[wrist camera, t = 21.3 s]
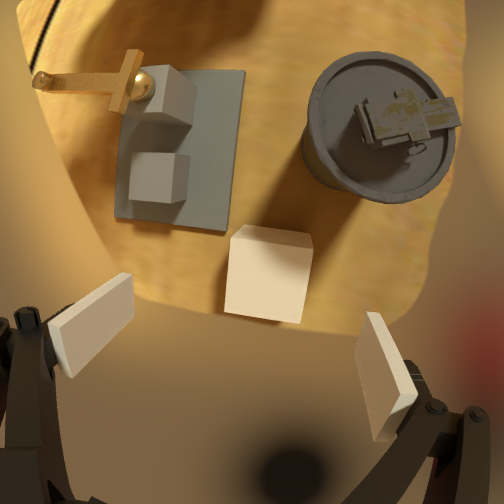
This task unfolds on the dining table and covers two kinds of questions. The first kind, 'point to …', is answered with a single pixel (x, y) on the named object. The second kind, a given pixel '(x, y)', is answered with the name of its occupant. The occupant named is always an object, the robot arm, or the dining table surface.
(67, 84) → the latch bar
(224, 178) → the latch base
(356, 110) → the canister
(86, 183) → the dining table surface
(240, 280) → the cover
